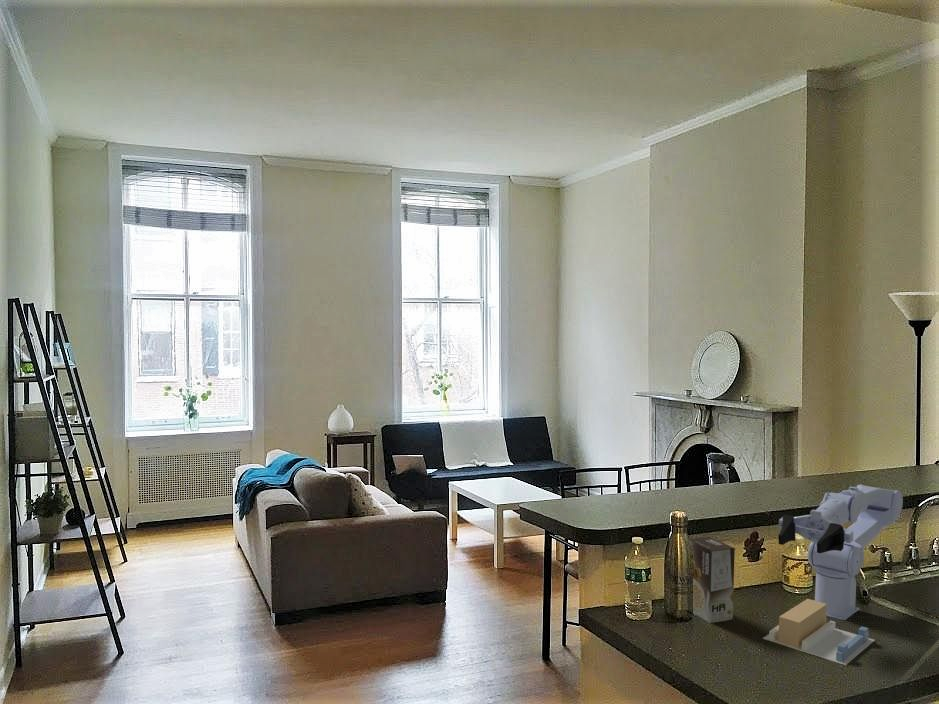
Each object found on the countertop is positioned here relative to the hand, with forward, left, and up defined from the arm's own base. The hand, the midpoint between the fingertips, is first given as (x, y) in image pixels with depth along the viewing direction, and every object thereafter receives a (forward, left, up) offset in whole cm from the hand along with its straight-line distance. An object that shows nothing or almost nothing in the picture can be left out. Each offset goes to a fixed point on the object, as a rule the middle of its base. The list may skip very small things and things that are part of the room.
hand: (799, 544), depth 157 cm
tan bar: (-2, +1, -19) cm, 19 cm away
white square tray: (-2, +4, -20) cm, 20 cm away
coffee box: (+2, -18, -20) cm, 27 cm away
